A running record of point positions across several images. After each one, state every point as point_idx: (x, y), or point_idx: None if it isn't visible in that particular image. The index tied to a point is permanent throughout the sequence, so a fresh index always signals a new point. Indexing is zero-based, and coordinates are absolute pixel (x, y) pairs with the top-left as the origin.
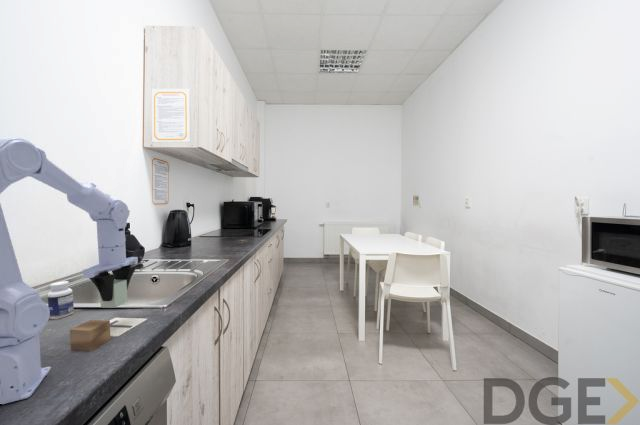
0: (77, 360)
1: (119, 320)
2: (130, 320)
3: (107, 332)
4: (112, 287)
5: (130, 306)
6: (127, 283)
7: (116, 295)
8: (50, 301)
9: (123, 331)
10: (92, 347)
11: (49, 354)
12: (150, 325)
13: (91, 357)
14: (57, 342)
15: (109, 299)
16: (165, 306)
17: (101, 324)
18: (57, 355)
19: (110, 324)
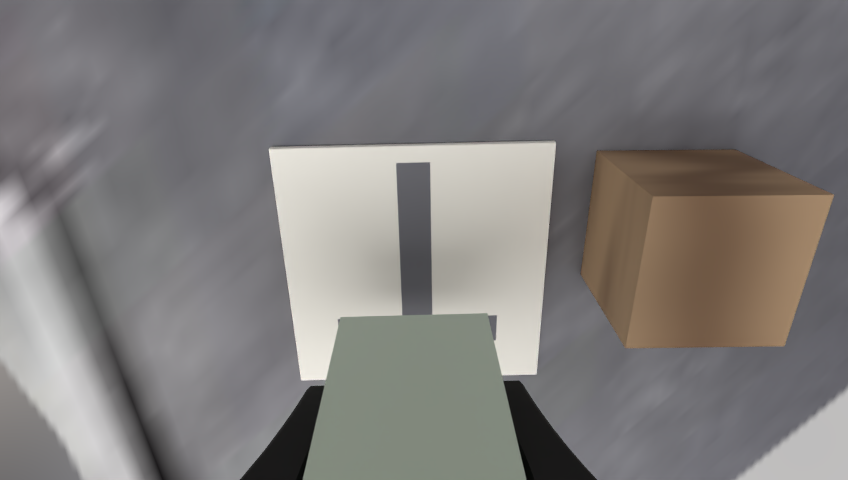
0: (820, 145)
1: (334, 323)
2: (322, 252)
3: (645, 168)
4: (537, 474)
5: (113, 434)
6: (281, 465)
7: (474, 384)
8: None
9: (487, 161)
10: (737, 155)
11: None
12: (355, 45)
13: (800, 90)
14: (601, 417)
15: (527, 392)
16: (12, 196)
17: (723, 200)
18: None
19: None
